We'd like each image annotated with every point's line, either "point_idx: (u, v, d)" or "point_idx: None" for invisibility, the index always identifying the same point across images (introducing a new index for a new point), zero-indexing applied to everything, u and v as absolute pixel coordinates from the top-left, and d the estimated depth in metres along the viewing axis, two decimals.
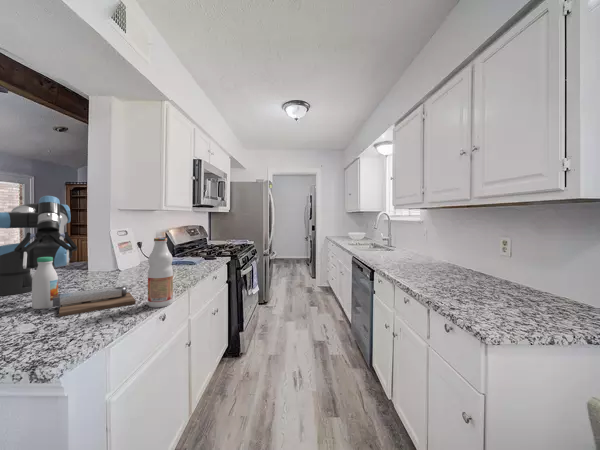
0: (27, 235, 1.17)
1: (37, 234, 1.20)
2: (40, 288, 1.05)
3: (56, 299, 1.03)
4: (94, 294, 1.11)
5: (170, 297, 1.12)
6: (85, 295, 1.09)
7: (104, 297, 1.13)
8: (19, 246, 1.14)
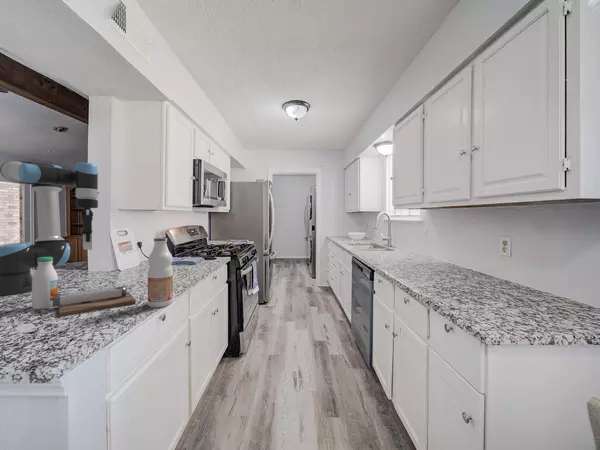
0: (91, 213, 1.13)
1: (90, 212, 1.16)
2: (40, 288, 1.05)
3: (56, 299, 1.03)
4: (94, 294, 1.11)
5: (170, 297, 1.12)
6: (85, 295, 1.09)
7: (104, 297, 1.13)
8: (91, 227, 1.12)
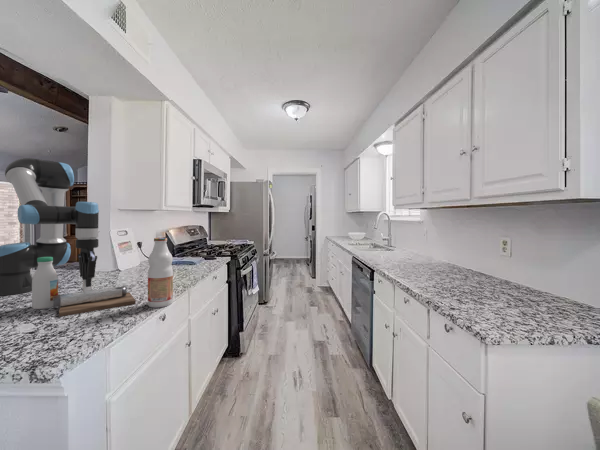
0: None
1: None
2: (40, 288, 1.05)
3: (57, 300, 1.02)
4: (95, 294, 1.10)
5: (170, 297, 1.12)
6: (86, 295, 1.08)
7: (105, 297, 1.13)
8: None
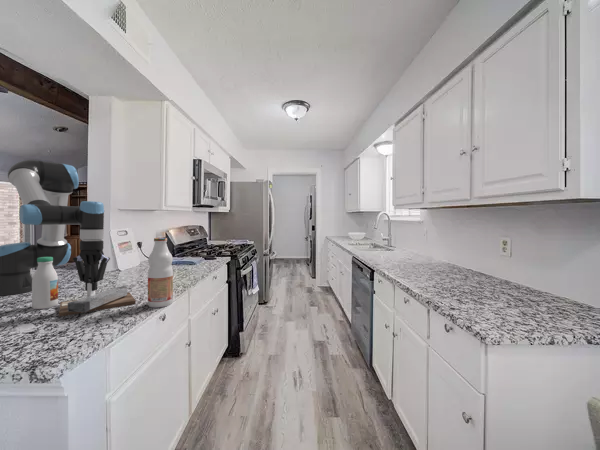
0: None
1: None
2: (40, 288, 1.05)
3: (87, 304, 0.98)
4: (111, 295, 1.09)
5: (170, 297, 1.12)
6: (105, 297, 1.07)
7: (117, 297, 1.13)
8: None
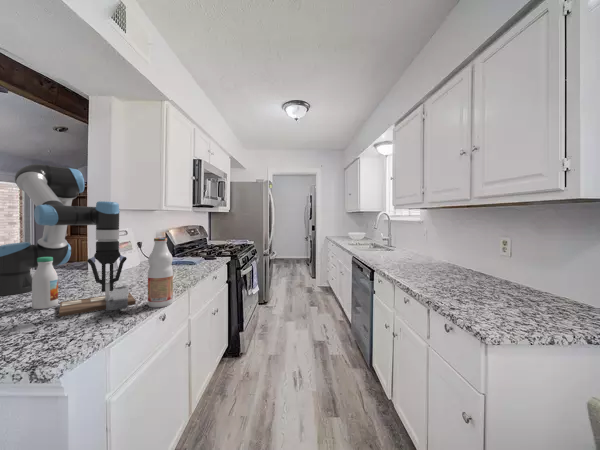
0: None
1: None
2: (40, 288, 1.05)
3: (127, 300, 1.03)
4: (127, 293, 1.12)
5: (170, 297, 1.12)
6: (127, 295, 1.10)
7: None
8: None
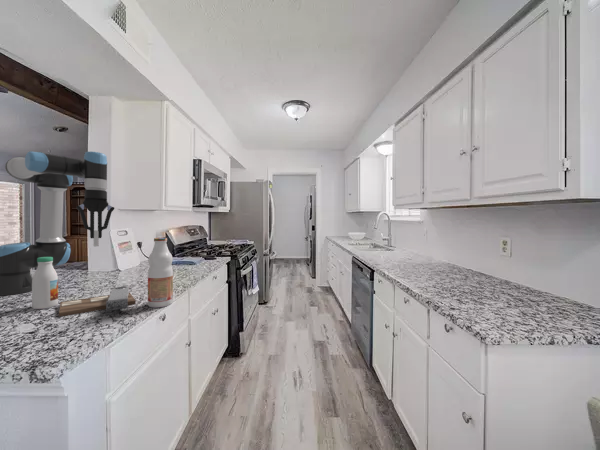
0: None
1: None
2: (40, 288, 1.05)
3: (127, 300, 1.03)
4: (127, 293, 1.12)
5: (170, 297, 1.12)
6: (127, 295, 1.10)
7: None
8: None
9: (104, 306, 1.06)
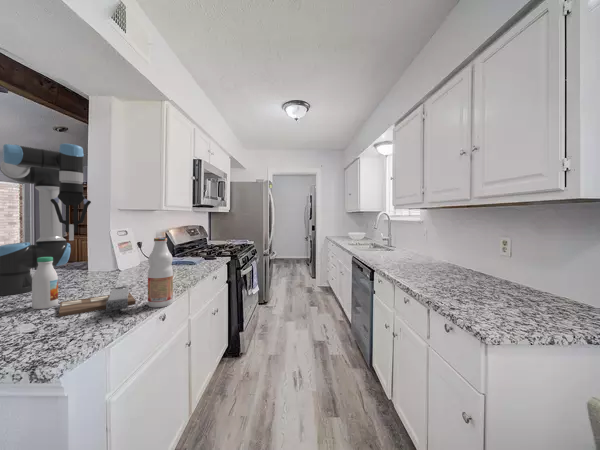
0: None
1: None
2: (40, 288, 1.05)
3: (127, 300, 1.03)
4: (127, 293, 1.12)
5: (170, 297, 1.12)
6: (127, 295, 1.10)
7: None
8: None
9: (104, 306, 1.06)
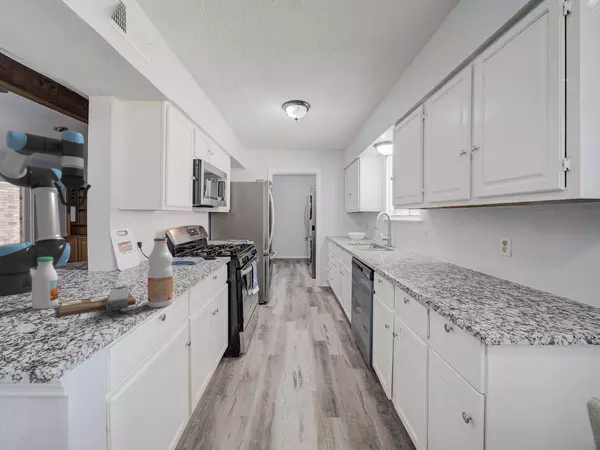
0: None
1: None
2: (40, 288, 1.05)
3: (127, 300, 1.03)
4: (127, 293, 1.12)
5: (170, 297, 1.12)
6: (127, 295, 1.10)
7: None
8: None
9: (104, 306, 1.06)
